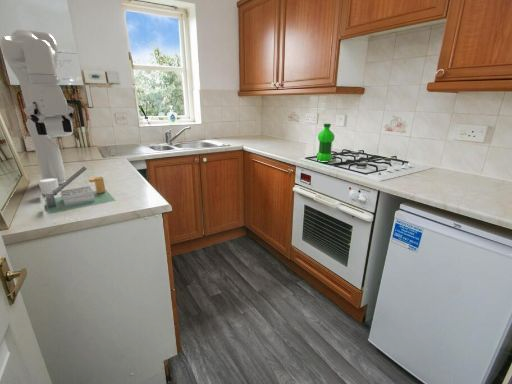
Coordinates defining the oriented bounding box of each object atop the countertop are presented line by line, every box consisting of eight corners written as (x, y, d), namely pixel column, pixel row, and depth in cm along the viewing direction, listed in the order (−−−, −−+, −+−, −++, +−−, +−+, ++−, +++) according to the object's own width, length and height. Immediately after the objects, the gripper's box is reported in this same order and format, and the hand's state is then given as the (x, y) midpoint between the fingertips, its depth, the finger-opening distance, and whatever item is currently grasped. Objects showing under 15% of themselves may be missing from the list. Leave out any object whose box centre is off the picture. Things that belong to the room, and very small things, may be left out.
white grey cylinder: (64, 192, 124) (61, 177, 121) (54, 198, 117) (50, 182, 115) (48, 192, 123) (44, 177, 121) (37, 198, 117) (33, 182, 115)
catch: (91, 192, 119) (88, 178, 117) (104, 190, 122) (101, 176, 120) (92, 194, 116) (89, 180, 114) (105, 191, 119) (103, 178, 117)
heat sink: (47, 202, 108) (44, 192, 107) (90, 194, 117) (89, 185, 116) (48, 210, 101) (46, 199, 99) (95, 201, 110) (93, 191, 108)
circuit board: (45, 203, 111) (44, 199, 111) (106, 192, 124) (105, 189, 124) (48, 217, 98) (47, 213, 98) (116, 204, 111) (115, 200, 110)
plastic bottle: (330, 160, 191) (333, 123, 182) (332, 164, 181) (336, 124, 173) (315, 160, 191) (318, 123, 183) (317, 163, 182) (320, 124, 173)
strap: (55, 196, 104) (52, 193, 103) (54, 193, 106) (51, 191, 106) (87, 169, 108) (85, 167, 107) (86, 167, 111) (83, 165, 110)
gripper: (59, 82, 101) (69, 130, 107) (7, 79, 85) (22, 135, 91) (75, 82, 99) (84, 131, 105) (26, 78, 84) (40, 136, 89)
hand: (56, 133), depth 98 cm, fingers open, 9 cm apart
